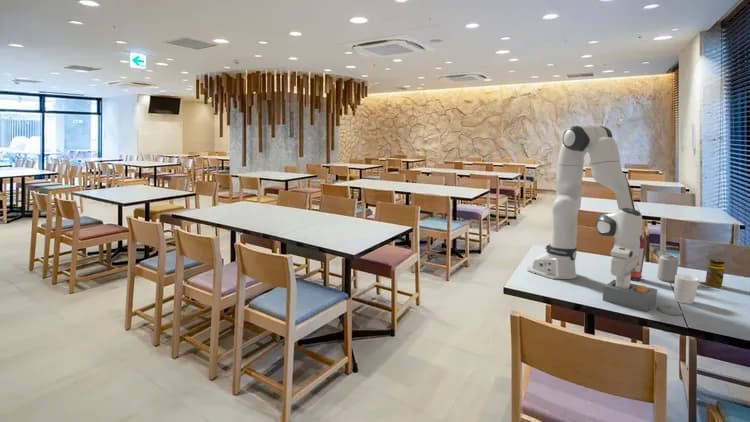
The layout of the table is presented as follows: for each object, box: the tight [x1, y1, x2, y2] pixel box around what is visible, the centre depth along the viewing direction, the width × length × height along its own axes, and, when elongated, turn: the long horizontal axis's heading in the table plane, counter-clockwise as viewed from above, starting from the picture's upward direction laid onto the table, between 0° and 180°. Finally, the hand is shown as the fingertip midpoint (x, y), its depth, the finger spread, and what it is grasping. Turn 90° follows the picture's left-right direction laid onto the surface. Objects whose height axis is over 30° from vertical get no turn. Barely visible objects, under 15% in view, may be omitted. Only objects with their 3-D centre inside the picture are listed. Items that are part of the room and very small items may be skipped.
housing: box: [602, 279, 658, 312], centre depth 177 cm, size 16×12×6 cm
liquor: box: [630, 219, 648, 281], centre depth 204 cm, size 7×7×28 cm
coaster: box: [657, 305, 683, 316], centre depth 169 cm, size 8×8×1 cm
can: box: [656, 253, 680, 283], centre depth 205 cm, size 8×8×12 cm
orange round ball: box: [636, 284, 649, 293], centre depth 174 cm, size 4×4×4 cm
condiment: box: [698, 258, 726, 290], centre depth 198 cm, size 7×8×12 cm
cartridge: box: [615, 272, 631, 290], centre depth 179 cm, size 5×5×12 cm
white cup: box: [673, 274, 700, 305], centre depth 179 cm, size 8×8×10 cm
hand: (622, 282), depth 179 cm, fingers closed on cartridge, 5 cm apart
